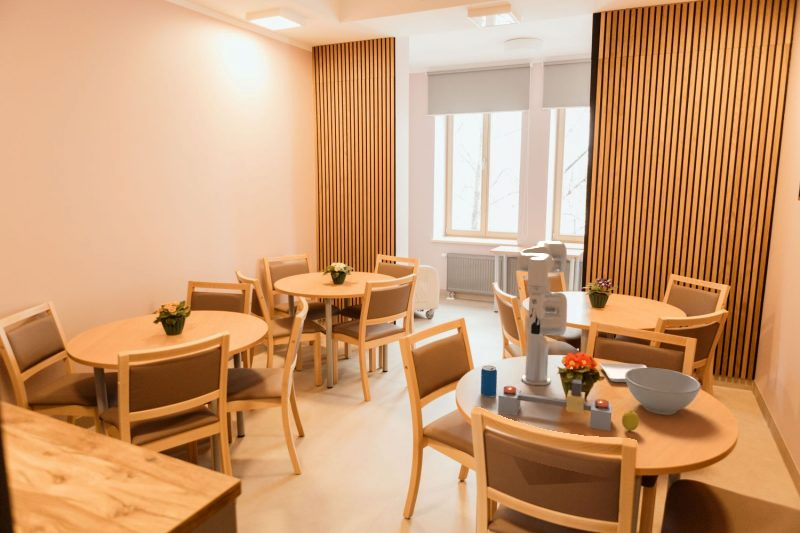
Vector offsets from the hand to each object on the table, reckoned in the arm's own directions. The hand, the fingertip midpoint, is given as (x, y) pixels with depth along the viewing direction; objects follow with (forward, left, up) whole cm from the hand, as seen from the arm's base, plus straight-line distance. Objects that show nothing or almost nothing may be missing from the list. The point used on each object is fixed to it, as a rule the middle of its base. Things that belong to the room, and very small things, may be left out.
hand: (535, 333), depth 216 cm
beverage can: (-1, -19, -30) cm, 35 cm away
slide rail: (+10, +9, -29) cm, 32 cm away
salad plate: (-46, +35, -30) cm, 66 cm away
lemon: (+12, +36, -30) cm, 48 cm away
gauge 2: (+10, +26, -28) cm, 40 cm away
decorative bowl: (-14, +47, -30) cm, 58 cm away
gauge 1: (+10, -8, -28) cm, 31 cm away
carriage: (+10, +17, -25) cm, 32 cm away
